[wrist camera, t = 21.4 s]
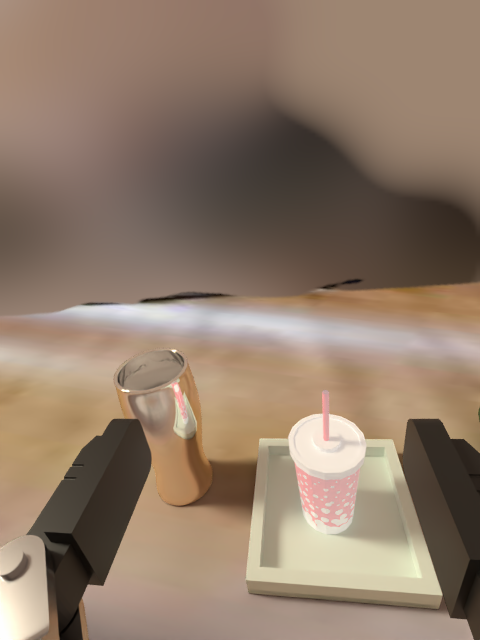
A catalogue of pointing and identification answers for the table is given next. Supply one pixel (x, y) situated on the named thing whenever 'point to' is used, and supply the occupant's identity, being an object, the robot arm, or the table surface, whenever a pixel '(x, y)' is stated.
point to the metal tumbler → (167, 421)
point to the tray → (340, 537)
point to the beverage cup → (327, 468)
